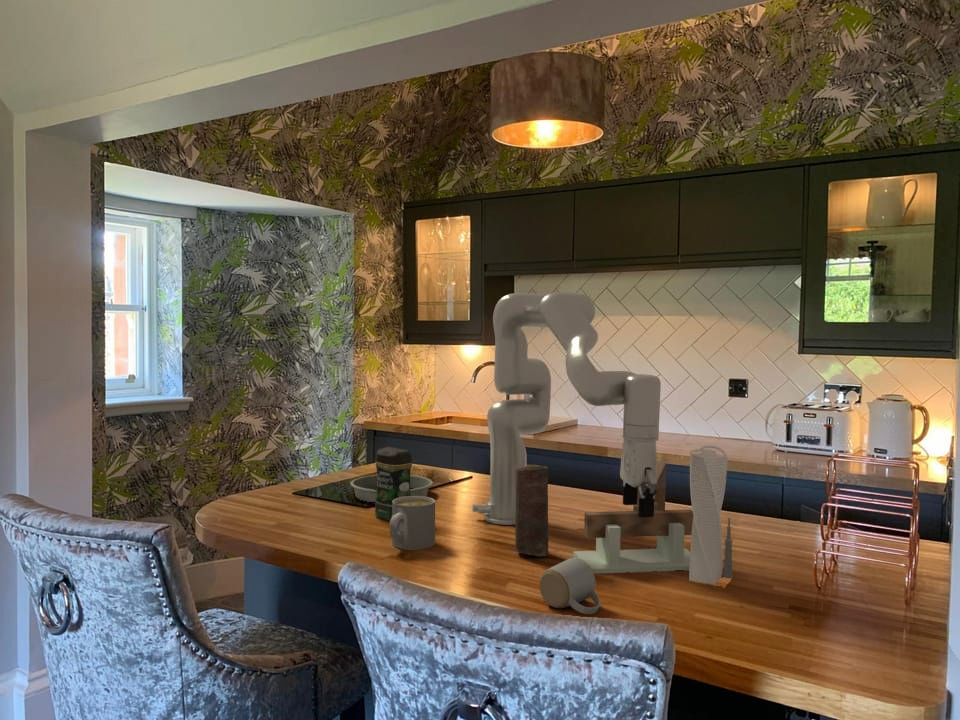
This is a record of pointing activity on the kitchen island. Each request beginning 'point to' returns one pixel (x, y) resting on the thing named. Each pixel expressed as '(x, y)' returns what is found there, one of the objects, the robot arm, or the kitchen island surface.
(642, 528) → the walnut rail
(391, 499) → the coffee jar
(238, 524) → the kitchen island surface
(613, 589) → the kitchen island surface
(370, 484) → the cake pan
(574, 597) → the ceramic mug
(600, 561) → the notched stand
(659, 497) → the brown wooden upright piece
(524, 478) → the candle
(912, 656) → the kitchen island surface
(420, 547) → the coffee mug
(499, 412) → the robot arm
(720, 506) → the skyscraper
